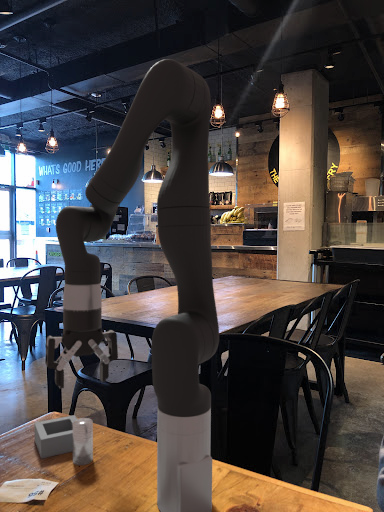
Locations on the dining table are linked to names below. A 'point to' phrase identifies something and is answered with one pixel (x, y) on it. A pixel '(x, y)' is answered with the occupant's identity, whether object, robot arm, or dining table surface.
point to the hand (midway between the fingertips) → (82, 384)
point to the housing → (54, 436)
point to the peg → (82, 441)
